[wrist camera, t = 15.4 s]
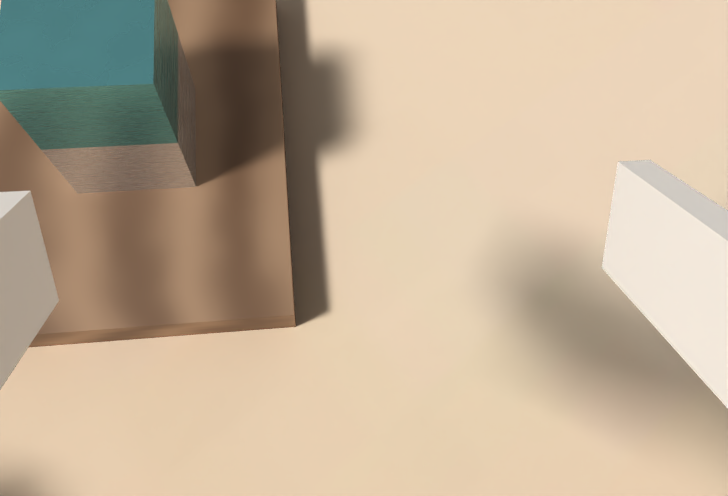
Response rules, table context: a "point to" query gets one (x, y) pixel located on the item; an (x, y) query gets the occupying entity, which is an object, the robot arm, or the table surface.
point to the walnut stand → (178, 204)
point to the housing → (101, 91)
